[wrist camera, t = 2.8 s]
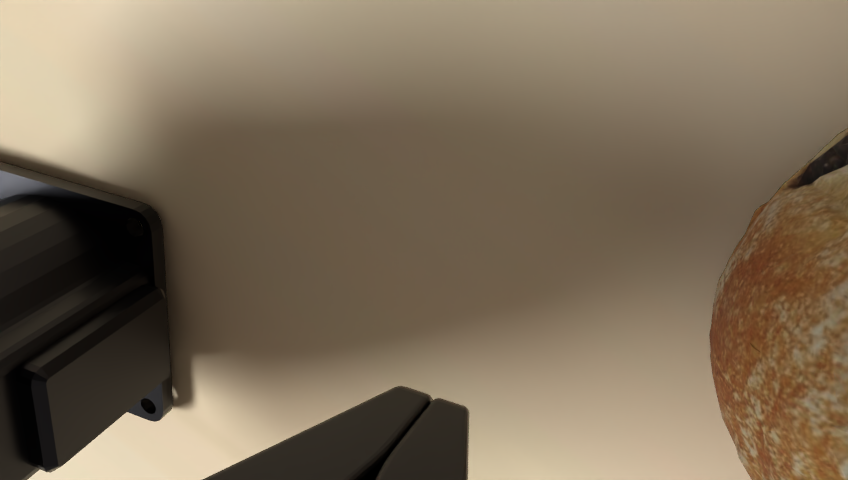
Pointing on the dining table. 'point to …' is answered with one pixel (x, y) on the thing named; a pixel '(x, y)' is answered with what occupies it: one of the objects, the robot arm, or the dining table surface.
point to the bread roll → (789, 328)
